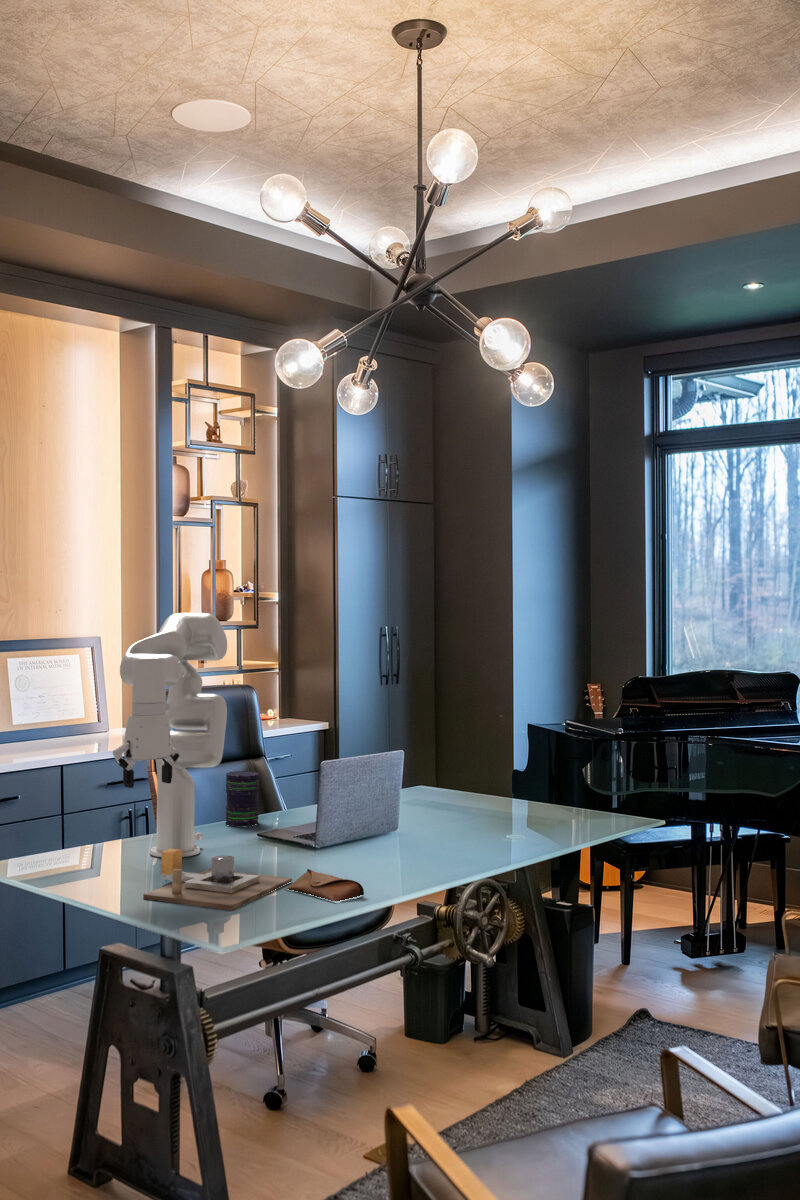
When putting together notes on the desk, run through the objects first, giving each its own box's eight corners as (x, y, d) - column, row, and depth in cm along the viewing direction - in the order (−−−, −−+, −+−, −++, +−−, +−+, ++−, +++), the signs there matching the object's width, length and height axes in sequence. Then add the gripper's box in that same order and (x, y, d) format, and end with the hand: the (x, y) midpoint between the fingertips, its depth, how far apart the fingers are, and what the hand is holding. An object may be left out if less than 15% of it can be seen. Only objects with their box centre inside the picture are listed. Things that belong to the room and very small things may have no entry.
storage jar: (228, 820, 319) (229, 770, 319) (261, 821, 319) (261, 771, 319) (221, 827, 309) (222, 775, 309) (255, 827, 309) (256, 776, 309)
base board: (209, 873, 251) (209, 869, 252) (291, 882, 243) (291, 878, 243) (143, 898, 227) (143, 894, 228) (231, 910, 219) (231, 905, 219)
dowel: (175, 891, 230) (175, 868, 230) (183, 892, 229) (183, 869, 229) (170, 893, 228) (170, 870, 228) (178, 894, 227) (178, 871, 227)
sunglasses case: (280, 889, 237) (292, 861, 239) (300, 900, 241) (311, 872, 244) (337, 904, 225) (348, 874, 227) (357, 915, 229) (368, 886, 232)
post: (218, 881, 239) (219, 854, 240) (238, 883, 238) (238, 856, 238) (206, 886, 235) (207, 859, 235) (226, 888, 233) (226, 861, 233)
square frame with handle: (259, 880, 239) (259, 853, 240) (231, 893, 228) (231, 864, 229) (181, 871, 248) (181, 845, 248) (150, 883, 236) (150, 855, 237)
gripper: (173, 707, 252) (172, 779, 252) (106, 711, 240) (105, 786, 240) (190, 709, 246) (189, 783, 246) (122, 713, 234) (121, 791, 234)
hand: (147, 784), depth 243 cm, fingers open, 9 cm apart
